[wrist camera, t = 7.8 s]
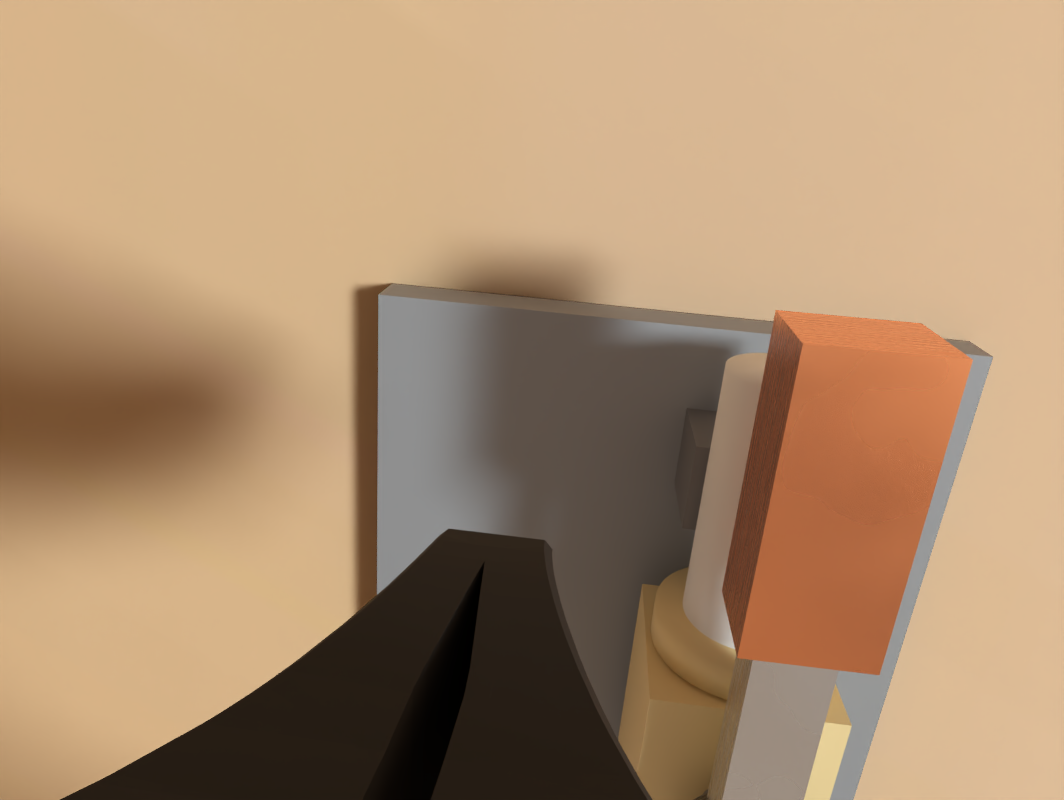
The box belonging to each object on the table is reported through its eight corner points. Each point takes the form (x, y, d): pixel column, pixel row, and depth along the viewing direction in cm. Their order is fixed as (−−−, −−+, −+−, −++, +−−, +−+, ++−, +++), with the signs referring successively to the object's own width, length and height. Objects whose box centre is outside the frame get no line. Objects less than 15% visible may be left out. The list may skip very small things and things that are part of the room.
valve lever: (780, 873, 16) (799, 963, 14) (665, 858, 16) (672, 944, 15) (928, 324, 12) (981, 360, 10) (769, 309, 12) (795, 342, 10)
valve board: (809, 872, 25) (872, 1114, 19) (385, 811, 26) (317, 1024, 20) (969, 341, 18) (1144, 456, 12) (392, 283, 19) (292, 364, 13)
